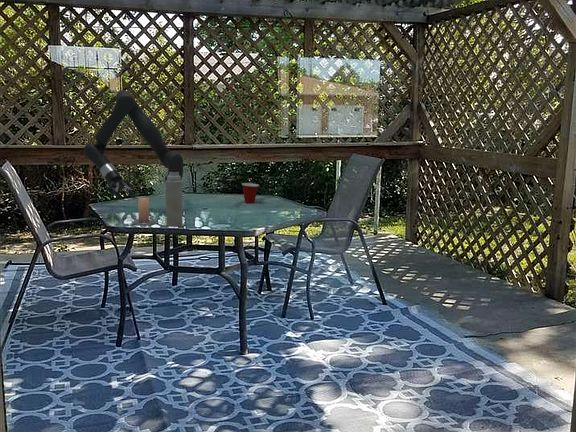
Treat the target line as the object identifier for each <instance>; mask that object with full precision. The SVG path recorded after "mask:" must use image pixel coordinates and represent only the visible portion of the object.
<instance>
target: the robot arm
mask: <svg viewBox="0 0 576 432" xmlns="http://www.w3.org/2000/svg"><path fill="white" fill-rule="evenodd" d="M139 105H140V104H138V102H137V101H136V98H134V96H133V94H132V93H131V92H130V91H128V90H119V91H118V92H117V93H116V96H115V106H114V108H113V110H112V112H111V114H110V115H109V117H108V118H107V119H106V120H105V121H104V122H103V123H102V124H101V126H100V127H99V128H98V130H97V132H96V134H95V135H94V136H95V137H94V139H95V140H96V143H90V142H89V143H87V144H86V145H85V146H84V148H83V152H84V155H85V156H86V158H87V159H89V160H90V162H92V164H94V165H95V166H96V168H97V169H98V171H99V172H100V174H101V175H102V177H103V178H104V180H105V181H106V183H107V184H105V187H106V189H107V191H108V193H109V194H110V195H113V196H115V197H116V198H117V199H118V200H119V201H121V200H122V199H123V196H122V194H121V193H120V192H119V191H124V192H127V193H128V196H129V197H130V198H132V199H133V198H134V197H135V192H134V191H133V190H134V186H133V185H132V184H131V182H130V181H129V180H128V179H126V180H123V179H122V175H121V174H120V172H119V171H118V169H117V168H116V167H115V165H113V164H112V162H111V161H110V160H109V158H108V157H107V156H105V155H104V154H105V151H106V149H107V145H108V143H109V141H110V139H111V138H112V136H113V135H114V133H115V131H116V129H117V128H118V127H119V125H120V124H121V123H122V121H123V120H124V119H125V118H126V116H129V118H130V119H131V121H132V123H133V125H134V127H135V129H136V130H137V131H138V133H139V135H140V136H141V137H142V139H143V140H144V141H145V142H146V143H147V145H148V146H149V148H151V150H153V152H154V154H155V155H156V156H157V157H158V160H159V161H160V162H161V164H162V165H163V166H164V167H165V168H166V169H167V174H166V175H165V176H164V212H165V213H166V181H167V176H168V175H169V170H170V169H177V170H179V171H178V172H179V176H181V181H182V182H183V180H182V179H183V177H184V159H183V156H182V155H181V154H180V153H177V152H172V150H170V149H169V148H168V147H167V145H166V144H165V143H164V140H163V137H162V133H161V131H160V130H159V128H158V127H157V126H156V124H155V123H154V122H153V121H152V119H151V118H150V117H149V116H148V115H147V114H146V113H145V112H144V111H143V109H142V108H141V107H140V106H139ZM183 210H184V209H183V207H182V214H183Z"/></svg>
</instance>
